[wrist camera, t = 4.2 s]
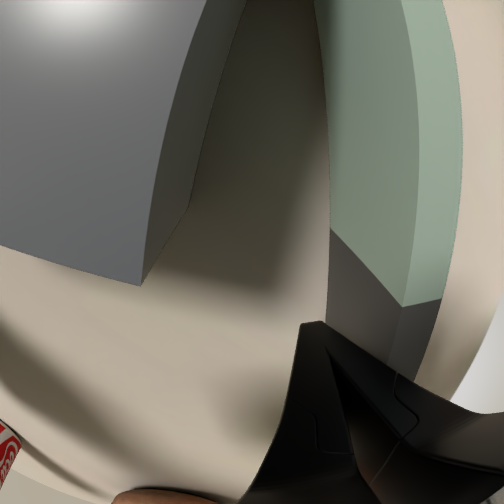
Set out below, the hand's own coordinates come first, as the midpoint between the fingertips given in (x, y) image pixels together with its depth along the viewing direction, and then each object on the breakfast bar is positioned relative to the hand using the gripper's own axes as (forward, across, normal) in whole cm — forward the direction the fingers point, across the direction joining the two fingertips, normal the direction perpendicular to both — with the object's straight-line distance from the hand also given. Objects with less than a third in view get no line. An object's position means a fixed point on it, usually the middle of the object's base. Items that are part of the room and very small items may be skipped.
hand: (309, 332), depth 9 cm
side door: (+3, -2, -7) cm, 8 cm away
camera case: (+4, +6, -13) cm, 15 cm away
